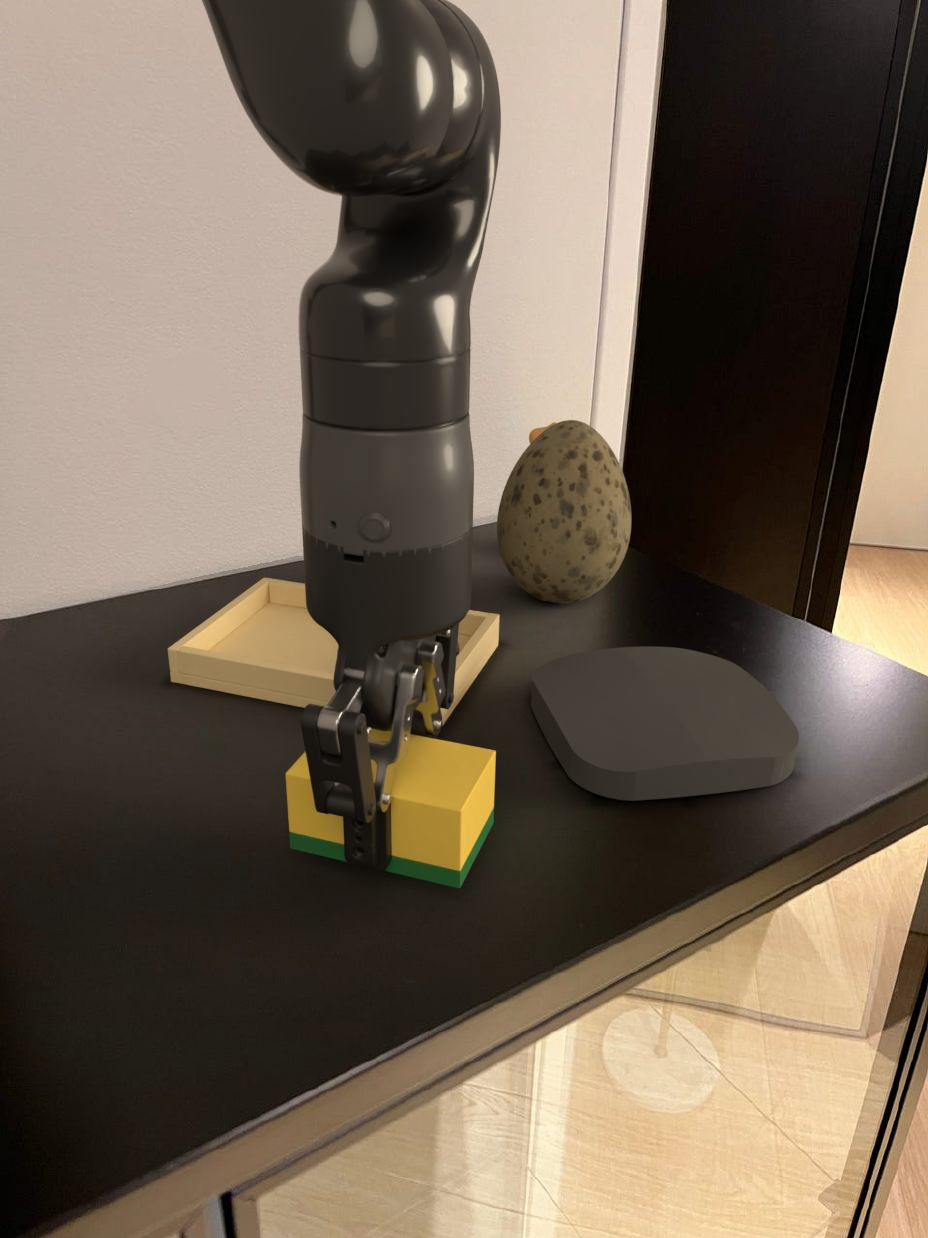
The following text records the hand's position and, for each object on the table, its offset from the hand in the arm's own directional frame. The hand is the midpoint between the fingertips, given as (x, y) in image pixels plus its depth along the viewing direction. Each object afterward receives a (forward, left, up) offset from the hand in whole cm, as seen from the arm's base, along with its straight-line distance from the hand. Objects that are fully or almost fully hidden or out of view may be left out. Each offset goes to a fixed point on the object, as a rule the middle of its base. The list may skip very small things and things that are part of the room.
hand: (392, 827), depth 52 cm
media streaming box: (+11, +18, -3) cm, 21 cm away
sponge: (0, 0, 0) cm, 0 cm away
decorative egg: (0, +37, -3) cm, 37 cm away
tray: (-12, +20, -3) cm, 24 cm away
